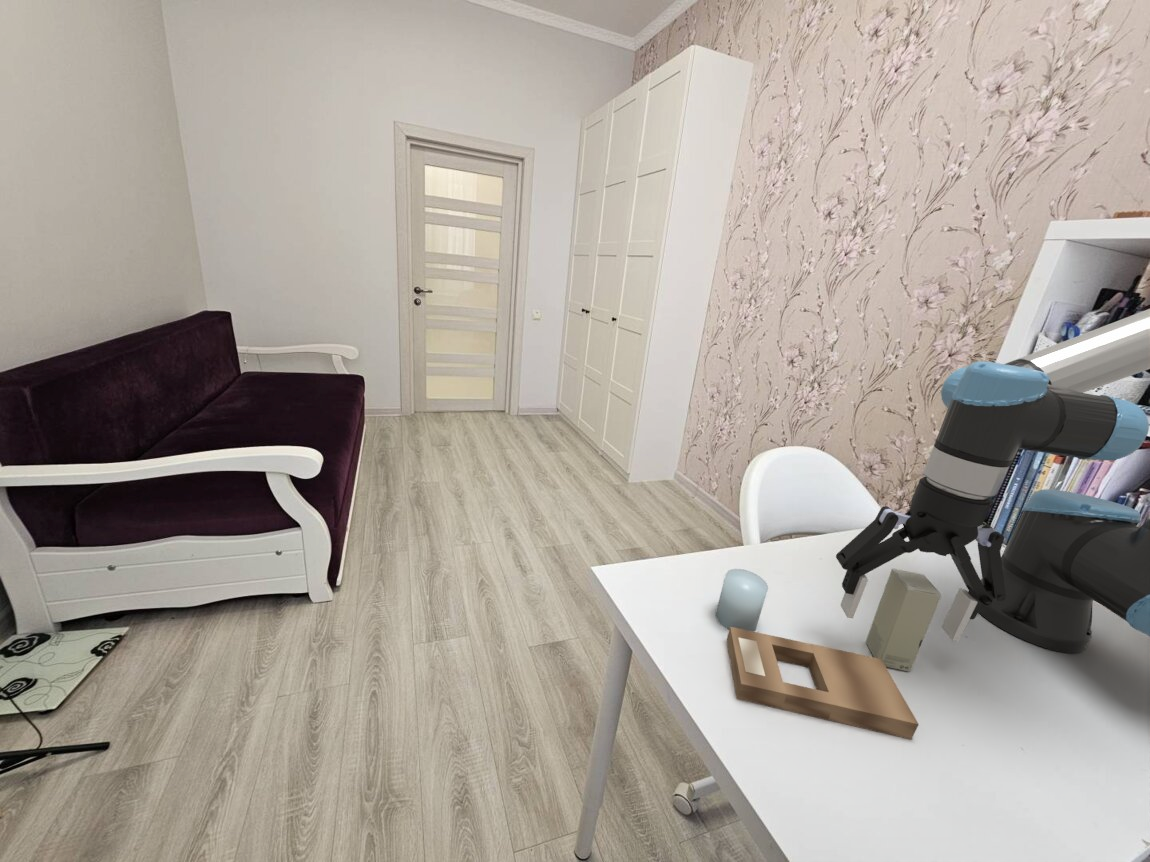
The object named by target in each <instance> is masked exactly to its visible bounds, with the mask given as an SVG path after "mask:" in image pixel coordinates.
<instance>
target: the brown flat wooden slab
mask: <svg viewBox="0 0 1150 862" xmlns="http://www.w3.org/2000/svg"><path fill="white" fill-rule="evenodd" d="M726 645H727V646H726V647H727V650H728V651H727V652H728V655H729V663H730V667H731V674H732V679H733V683H734V684H733V685H734V691H735V696H736V699H737V700H741V701H745V702H750V703H754V704H758V705H763V706H767V707H771V708H776V709H779V710H784V711H788V712H792V713H797V714H801V715H805V716H810V717H813V718H818V719H822V720H827V721H831V722H835V723H841V724H844V725H848V726H852V727H857V728H861V729H867V730H870V731H875V732H877V733H878V732H879V733H883V734H887V735H892V736H896V737H901V738H904V739H908V740H913V737H914V735H915V733H916V731H917V728H918V727H919V726H920V725H919V723H918V720H917V719H916V717H915V715H914V714H913V711H912V710H911V708H910V707H909V704H908V703H907V701H906V700H905V698H904V696H903V694H902V693H901V691H900V689H899V687H898V685H897V684H896V682H895V680H894V679H893V677H892V675H891V673H890V672H889V670H888V667H886V666H885V665H884V663H883V661H882V659H879V658H875V657H874V656H870V655H865V654H860V653H855V652H851V651H846V650H842V649H836V648H831V647H827V646H823V645H818V644H813V643H809V642H804V641H800V640H799V641H798V640H794V639H791V638H786V637H782V636H781V637H780V636H775V635H771V634H766V633H762V632H759V631H758V632H756V631H754V632H753V631H748V630H744V629H739V628H734V627H730V629H729V630H728V633H727V637H726ZM778 661H779V662H784V663H788V664H794V665H796V666H797V665H798V666H801V667H806V668H808V670H809V672H810V674H811V677H812V680H813V683H814V686H815V688H816V689H815V688H811V687H806V686H803V685H797V684H794V683H788V682H784V680H783V677H782V674H781V670H780V668H779V667H780V666H779V664H778Z"/></svg>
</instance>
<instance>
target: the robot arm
mask: <svg viewBox="0 0 1150 862" xmlns="http://www.w3.org/2000/svg"><path fill="white" fill-rule="evenodd" d="M1148 370H1150V308H1148V309H1146V310H1143V311H1139V312H1138V313H1134V314H1132V315H1129V316H1127V317H1124V318H1122V319H1119V320H1117V321H1114V322H1111V323H1109V324H1106V325H1104V326H1101V327H1097V328H1096V329H1093V330H1090V331H1088V332H1085V333H1082V334H1080V335H1077V336H1075V337H1072V338H1069V339H1067V340H1064V341H1061V342H1059V343H1056V344H1053V345H1051V346H1048V347H1046V348H1043V349H1041V350H1037V351H1036V352H1033V353H1030V354H1027V355H1025V356H1022V357H1019V358H1017V359H1014V360H1011V361H1009V362H1007V363H999V362H993V361H985V360H984V361H983V360H982V361H981V360H980V361H974V362H972V363H970V364H969V365H968V366H963V367H960V368H958V369H957V370H955V371H952V373H951V374H949V375H948V377H947V378H946V379H945V381H943V382H944V383H943V384H942V387H941V391H940V392H941V393H940V394H941V395H940V396H941V401H942V403H943V404H944V406H945V407H946V409H947V410H946V413H945V416H944V418H943V421H942V423H941V427H940V429H939V431H938V434H937V436H936V439H935V442H934V443H933V444H934V445H933V447H932V449H931V451H930V454H929V456H928V460H927V462H926V464H925V466H924V469H923V471H922V472H923V475H924V476H923V477H921V478H919V480H918V483H917V485H916V488H915V490H914V493H913V495H912V497H911V503H910V508H909V509H908V511H907V512H905V513H901V512H898V511H895V510H894V511H893V510H892V508H890V507H889V506H887V505H885V506H882V507H881V508H880V509H879V511H878V513H877V515H876V516H875V519H873V521H871V522H870V523H869V524H868V525H867V526H866V527H865V528H864V529H862V531H861V532H860V533H858V534H857V535H856V536H855V537H854V538H852V540H851V541H849V542H848V543H847V544H846V545H845V546H844V547H842V549H841V550H840V551H838V552H837V553H836V554H835V558H836V560H837V561H838V563H839V565H840V566H841V568H842V569H843V570H845V571H846V572H845V574H844V577H843V580H842V583H841V588H842V589H843V590H844V595H843V598H842V600H841V602H840V607H841V609H842V611H843V612H844V614H845V616H846V618H847V619H854V617H855V614H856V612H857V608H858V606H859V604H860V602H861V599H862V596H863V594H864V591H865V588H866V586H867V584H868V582H869V579H868V577H867V575H866V574H868V573H870V572H872V571H875V570H876V569H877V568H879V567H881V566H883V565H885V564H887V563H889V562H891V561H892V560H895V559H896V558H898V557H900V556H901V555H904V554H906V553H907V554H910V553H913V552H914V551H917V550H919V551H920V552H922V553H934V554H937V555H939V556H942V557H947V556H948V555H950V557H951V560H952V561H953V563H954V565H955V567H956V568H957V571H958V572H959V575H960V577H961V578H962V581H963V583H964V584H965V586H966V588H967V590H966V589H965V588H958V590H957V593H956V594H955V596H954V599H953V601H952V603H951V605H950V607H949V609H948V611H947V614H946V615H945V618H944V620H943V622H942V624H941V629H942V630H944V633H946V634H947V636H948V637H949V638H950V640H951V641H953V642H959V641H960V639H961V637H962V635H963V633H964V630H965V628H966V627H967V625H968V622H970V621H969V620H974V619H975V618H977V615H978V613H979V614H980V615H981V616H982V617H984V618H985V619H986V620H987V621H989V622H990V623H992V624H993V625H995V626H996V627H997V628H1000V629H1001V630H1003V631H1005V632H1007V633H1008V634H1011V635H1013V636H1014V637H1016V638H1019V639H1020V640H1023V641H1026V642H1027V643H1031V644H1033V645H1036V646H1038V647H1042V648H1044V649H1048V650H1051V651H1056V652H1060V653H1065V654H1066V653H1069V654H1076V653H1077V654H1078V653H1081V652H1084V651H1085V650H1086V649H1087V646H1088V645H1089V643H1090V641H1091V639H1092V634H1093V631H1092V629H1091V628H1092V623H1093V606H1094V605H1093V602H1094V601H1095V602H1097V603H1098V604H1100V605H1101V606H1103V607H1105V608H1106V609H1107V610H1109V611H1110V612H1111V613H1113V614H1115V615H1116V616H1118V617H1120V619H1122V620H1124V621H1125V622H1127V624H1129V626H1130V627H1131V628H1133V629H1134V630H1136V631H1138V632H1141V633H1143V634H1145V635H1147V636H1148V637H1150V517H1149V518H1147V520H1146V521H1145V522H1144V523H1142V525H1141V526H1138V524H1140V523H1141V522H1142V520H1141V517H1142V516H1141V513H1140V512H1139V511H1138V510H1137V509H1134V508H1132V507H1129V506H1127V505H1124V504H1121V503H1117V502H1115V501H1110V500H1107V499H1103V498H1100V497H1099V498H1098V497H1095V496H1092V495H1091V496H1090V495H1087V494H1083V493H1076V492H1073V491H1068V490H1059V489H1049V488H1047V489H1039V490H1037V491H1035V492H1034V493H1032V494H1031V497H1030V498H1029V500H1028V501H1027V503H1026V504H1025V506H1024V507H1022V509H1021V512H1020V515H1019V517H1018V519H1017V522H1016V524H1015V526H1014V528H1013V531H1012V533H1011V535H1010V538H1009V540H1008V542H1007V544H1006V546H1005V549H1004V550H1003V553H1001V549H1002V546H1003V544H1004V541H1005V536H1004V535H1003V534H1002V533H1000V532H999V531H998V530H997V529H996V528H994V527H992V526H991V525H989V524H987V525H986V524H985V525H983V524H984V522H985V520H986V518H987V515H988V514H989V511H990V509H991V507H992V504H993V500H992V498H991V497H995V496H997V495H998V493H999V490H1000V488H1001V487H1002V485H1003V482H1004V479H1005V477H1006V475H1007V474H1008V471H1009V468H1010V466H1011V465H1012V463H1013V460H1014V458H1015V456H1016V454H1017V453H1018V451H1019V450H1022V451H1023V450H1024V451H1032V452H1038V453H1045V454H1051V455H1059V456H1064V457H1069V458H1070V457H1072V458H1075V459H1076V458H1077V460H1083V461H1085V460H1096V461H1097V460H1098V461H1114V460H1119V459H1123V458H1125V457H1126V458H1127V457H1128V456H1130V455H1132V454H1133V453H1134V452H1136V451H1138V450H1139V449H1140V447H1141V446H1142V445H1143V443H1144V442H1145V441H1146V437H1147V436H1148V433H1149V431H1150V430H1149V429H1150V428H1149V427H1150V424H1149V420H1148V417H1147V414H1146V412H1145V411H1144V410H1143V409H1142V408H1141V407H1140V406H1139V405H1137V404H1135V403H1134V402H1132V401H1130V400H1125V399H1121V398H1116V397H1114V396H1109V395H1106V394H1100V395H1097V394H1096V395H1095V394H1090V393H1087V392H1089V391H1091V390H1094V389H1098V388H1099V387H1103V386H1106V385H1108V384H1111V383H1114V382H1117V381H1121V380H1123V379H1125V378H1128V377H1131V376H1133V375H1134V376H1135V375H1136V374H1139V373H1142V372H1145V371H1148ZM900 525H902V526H903V527H901V528H900V529H899V527H900ZM981 526H982V527H981ZM893 530H896V531H894V532H893ZM892 532H893V533H892ZM891 533H892V535H891V536H890V534H891ZM888 536H890V537H888ZM887 537H888V538H887ZM886 538H887V539H886ZM907 538H908V541H907V540H906V539H907ZM974 541H976V542H977V550H978V557H979V565H980V570H981V578H980V577H979V575H978V572H977V570H976V569H975V567H974V565H973V562H972V558H971V556H970V554H969V552H968V549H967V548H966V546H968V545H969V544H971V543H972V542H974ZM1001 554H1002V555H1001Z"/></svg>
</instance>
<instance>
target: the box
mask: <svg viewBox="0 0 1150 862" xmlns="http://www.w3.org/2000/svg"><path fill="white" fill-rule="evenodd" d="M881 595H882V596H881V598H880V600H879V603H878V605H877V606H878V607H877V609H876V612H875V615H874V617H873V620H872V623H871V626H870V629H869V632H868V634H867V637H866V639H865V643H866V645H867V647H868V649H869V650H870V652H871V654H872V657H875V658H879V659H882V661H883V663H884V665H885V666H886V668H889V669H890V668H892V669H896V670H900V671H904V672H905V671H906V672H911V670H912V668H913V666H914V663H915V661H916V658H917V656H918V653H919V651H920V648H921V646H922V644H923V641H924V638H925V636H926V635H927V631H928V630H929V627H930V624H931V621H932V619H933V617H934V614H935V611H937V610H936V609H937V607H938V604H939V602H940V600H941V598H942V594H941V592H940V591H939V590H938V589H937V588H936V586H934V584H933V583H932V582H931V581H930V580H929V579H928V578H927V577H926V576H925V575H924V574H922V573H918V572H913V571H907V570H903V569H897V568H892V569H891V570H890V572H889V576H888V579H887V581H886V584H885V587H884V590H883V592H882V594H881Z"/></svg>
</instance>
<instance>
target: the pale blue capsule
mask: <svg viewBox="0 0 1150 862" xmlns="http://www.w3.org/2000/svg"><path fill="white" fill-rule="evenodd" d="M768 589H769V585H768V583H767V582H766V580H765V579H763V577H762V576H760V575H758V574H756V573H755V572H753V571H751V570H747V569H744V568H743V569H742V568H732V569H729V570H727V572H725V575H724V579H723V582H722V587H721V591H720V594H719V599H718V603H717V605H716V610H715V618H716V620H717V622H718V623H719V624H720V625H721V626H722V627H724V629H726V630H728V631H729V629H730V627H734V628H739V629H744V630H748V631H753V632H756V630H757V627H758V623H759V620H760V617H761V613H762V610H763V607H764V603H765V602H766V601H765V599H766V597H767V593H768Z"/></svg>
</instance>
